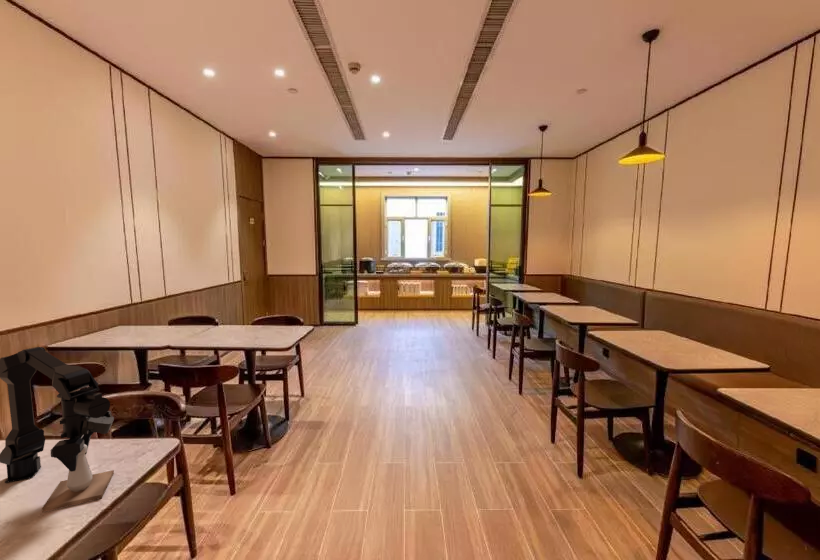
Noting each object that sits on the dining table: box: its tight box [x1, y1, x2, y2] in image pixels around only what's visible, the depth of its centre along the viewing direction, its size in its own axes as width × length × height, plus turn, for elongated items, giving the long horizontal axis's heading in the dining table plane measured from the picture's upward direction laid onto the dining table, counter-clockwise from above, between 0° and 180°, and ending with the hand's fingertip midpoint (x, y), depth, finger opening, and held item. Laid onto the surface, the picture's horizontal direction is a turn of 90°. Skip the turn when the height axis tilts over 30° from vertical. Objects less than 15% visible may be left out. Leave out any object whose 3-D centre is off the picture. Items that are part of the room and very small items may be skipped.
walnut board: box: [41, 469, 115, 513], centre depth 109 cm, size 13×13×1 cm
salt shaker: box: [66, 444, 93, 492], centre depth 109 cm, size 6×6×13 cm
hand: (78, 462), depth 108 cm, fingers open, 9 cm apart
